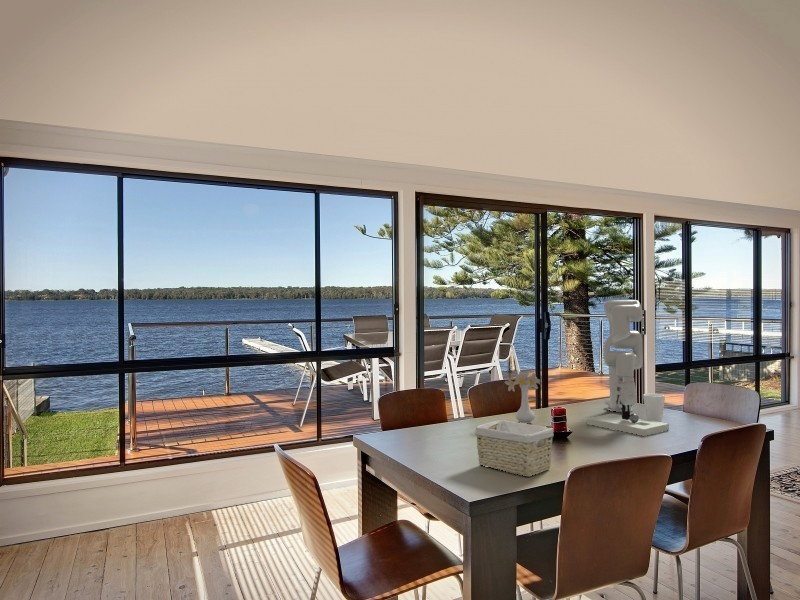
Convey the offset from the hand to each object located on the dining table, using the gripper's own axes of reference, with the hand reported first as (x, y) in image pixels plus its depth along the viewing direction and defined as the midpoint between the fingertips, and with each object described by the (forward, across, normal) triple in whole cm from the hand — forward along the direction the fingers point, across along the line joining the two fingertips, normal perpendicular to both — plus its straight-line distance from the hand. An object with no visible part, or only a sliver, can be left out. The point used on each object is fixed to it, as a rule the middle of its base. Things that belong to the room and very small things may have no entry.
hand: (626, 419), depth 259 cm
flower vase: (+4, -30, +34) cm, 46 cm away
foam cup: (+4, +20, -1) cm, 21 cm away
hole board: (+4, 0, 0) cm, 4 cm away
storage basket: (+4, -86, -16) cm, 87 cm away
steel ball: (-1, 0, -4) cm, 5 cm away
